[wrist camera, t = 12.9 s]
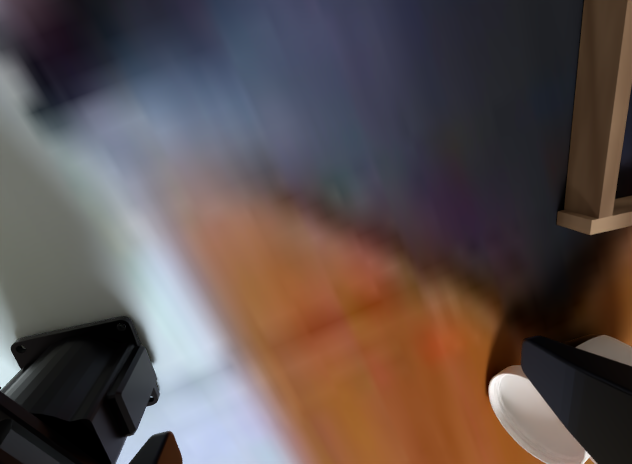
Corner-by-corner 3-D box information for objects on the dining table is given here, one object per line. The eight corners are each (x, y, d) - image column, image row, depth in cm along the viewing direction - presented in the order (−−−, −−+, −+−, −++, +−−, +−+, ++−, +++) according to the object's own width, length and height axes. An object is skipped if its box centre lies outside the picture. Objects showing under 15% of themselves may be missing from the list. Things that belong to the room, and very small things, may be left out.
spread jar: (619, 382, 30) (829, 527, 19) (516, 451, 30) (665, 633, 19) (582, 290, 26) (822, 407, 15) (464, 371, 26) (614, 545, 15)
